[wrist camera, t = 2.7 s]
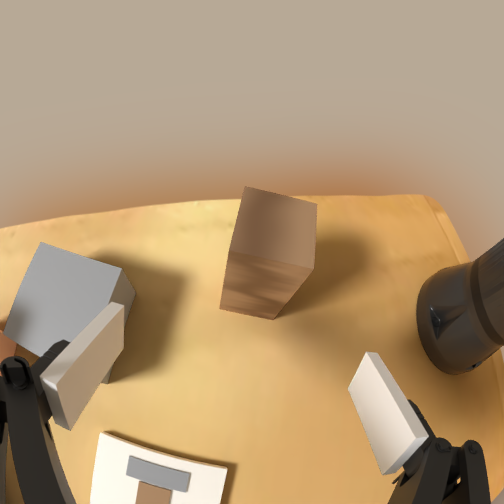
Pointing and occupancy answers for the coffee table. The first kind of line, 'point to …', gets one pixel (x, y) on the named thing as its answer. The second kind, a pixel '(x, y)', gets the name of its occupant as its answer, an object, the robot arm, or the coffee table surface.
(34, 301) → the slate-grey plinth
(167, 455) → the picture card
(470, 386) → the coffee table surface
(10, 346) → the terracotta block
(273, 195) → the walnut block
